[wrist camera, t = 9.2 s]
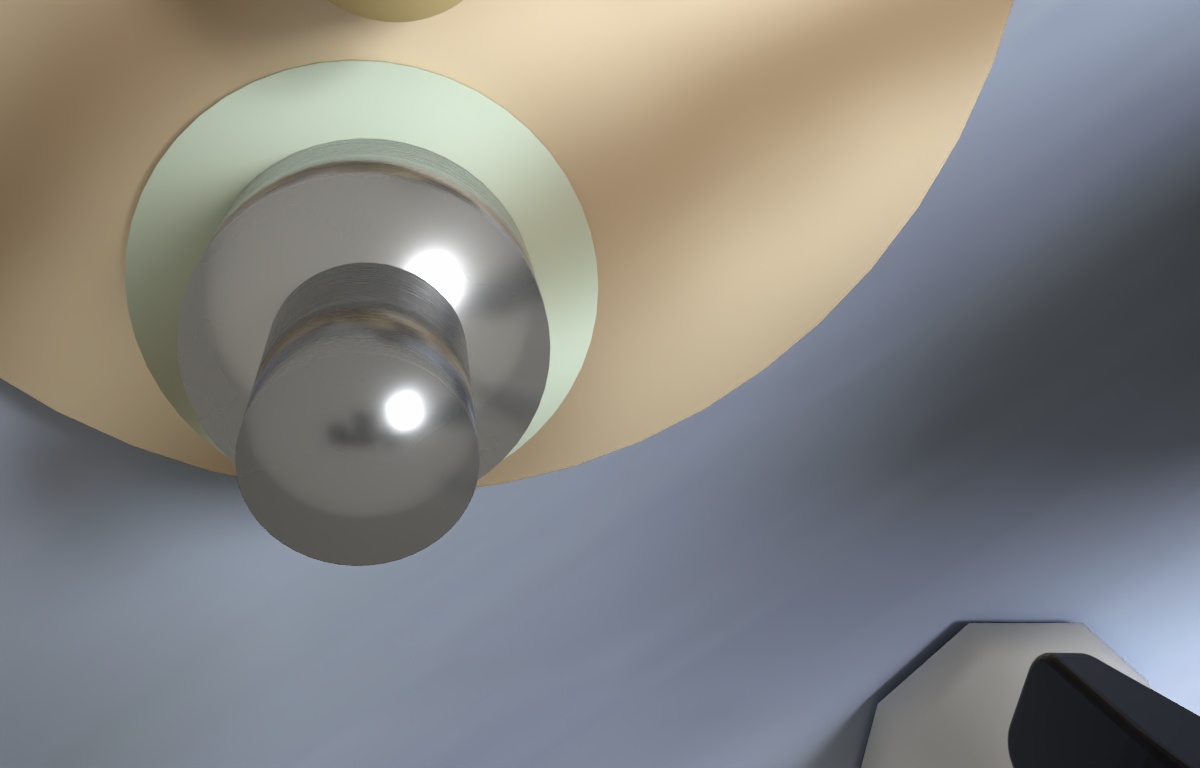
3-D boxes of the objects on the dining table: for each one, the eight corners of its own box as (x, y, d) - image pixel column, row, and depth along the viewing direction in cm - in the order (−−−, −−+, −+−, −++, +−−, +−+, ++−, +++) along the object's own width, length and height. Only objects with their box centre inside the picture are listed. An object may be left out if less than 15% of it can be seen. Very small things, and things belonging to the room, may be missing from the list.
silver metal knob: (597, 315, 20) (665, 478, 15) (362, 498, 21) (345, 715, 16) (386, 66, 18) (375, 151, 12) (131, 282, 19) (18, 448, 13)
